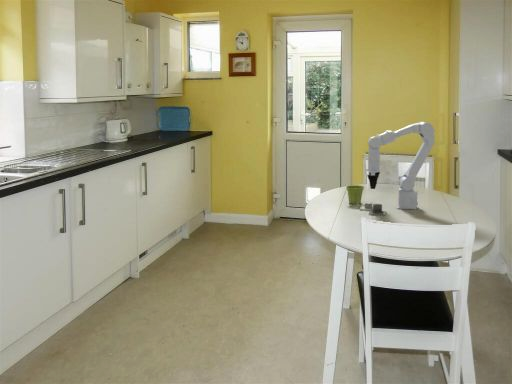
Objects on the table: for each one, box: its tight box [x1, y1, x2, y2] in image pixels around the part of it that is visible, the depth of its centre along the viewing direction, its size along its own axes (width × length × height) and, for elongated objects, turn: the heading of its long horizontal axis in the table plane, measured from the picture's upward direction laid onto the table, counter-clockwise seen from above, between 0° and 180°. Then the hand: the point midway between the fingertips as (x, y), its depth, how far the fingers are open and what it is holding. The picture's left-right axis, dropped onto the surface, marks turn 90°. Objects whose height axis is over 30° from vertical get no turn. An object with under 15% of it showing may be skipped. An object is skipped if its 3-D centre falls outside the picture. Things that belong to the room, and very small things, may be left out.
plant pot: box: [345, 184, 365, 205], centre depth 296 cm, size 9×9×9 cm
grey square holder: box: [359, 201, 373, 211], centre depth 282 cm, size 8×8×3 cm
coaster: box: [368, 210, 387, 217], centre depth 272 cm, size 8×8×1 cm
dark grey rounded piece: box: [371, 203, 384, 214], centre depth 272 cm, size 6×4×4 cm
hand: (373, 187), depth 283 cm, fingers open, 7 cm apart
